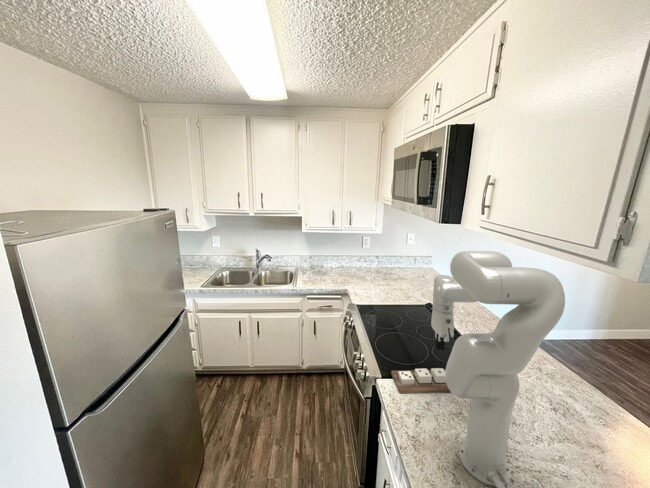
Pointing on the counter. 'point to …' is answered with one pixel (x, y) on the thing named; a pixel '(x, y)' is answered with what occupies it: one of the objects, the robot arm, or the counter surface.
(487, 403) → the robot arm
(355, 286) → the counter surface
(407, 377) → the white square block
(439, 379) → the keypad button
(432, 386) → the keypad board
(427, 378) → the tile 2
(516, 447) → the counter surface
